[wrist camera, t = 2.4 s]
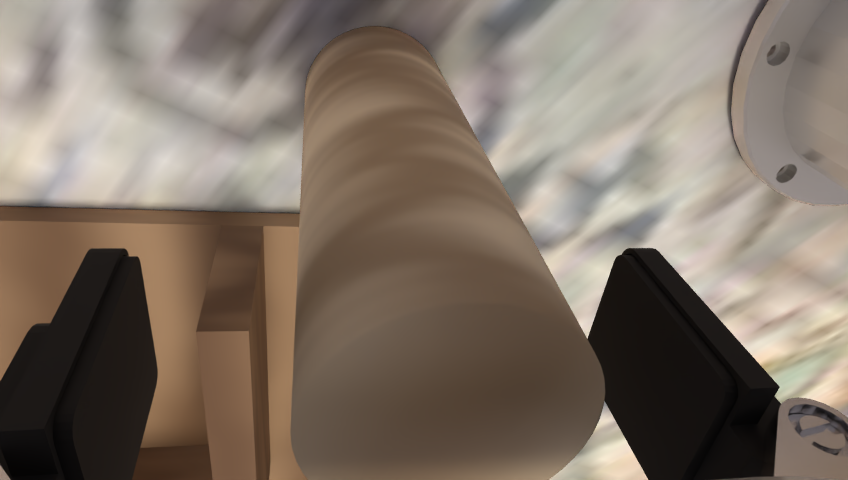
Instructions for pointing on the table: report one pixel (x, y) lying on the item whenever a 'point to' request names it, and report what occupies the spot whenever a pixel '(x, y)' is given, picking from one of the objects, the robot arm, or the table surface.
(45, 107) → the table surface
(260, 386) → the channel board
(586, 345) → the beech peg
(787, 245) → the table surface
